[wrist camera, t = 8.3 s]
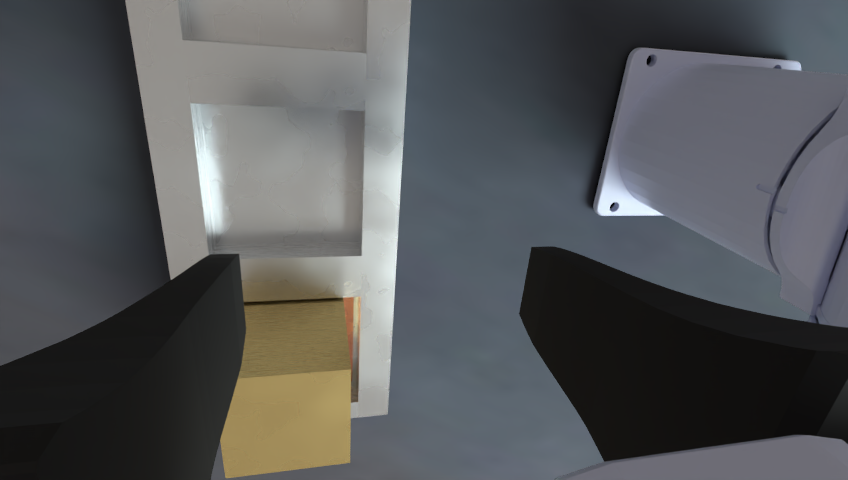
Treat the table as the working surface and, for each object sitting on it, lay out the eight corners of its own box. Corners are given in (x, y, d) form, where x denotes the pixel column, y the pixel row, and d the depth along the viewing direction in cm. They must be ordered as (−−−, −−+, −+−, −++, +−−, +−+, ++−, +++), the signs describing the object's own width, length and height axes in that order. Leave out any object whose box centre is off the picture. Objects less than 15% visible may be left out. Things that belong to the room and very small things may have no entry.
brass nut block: (342, 284, 21) (351, 369, 16) (341, 363, 23) (350, 462, 18) (238, 289, 20) (212, 380, 15) (246, 370, 22) (225, 478, 17)
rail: (407, -162, 16) (422, -192, 14) (381, 381, 26) (387, 414, 24) (119, -213, 14) (82, -258, 12) (207, 396, 24) (195, 434, 22)
